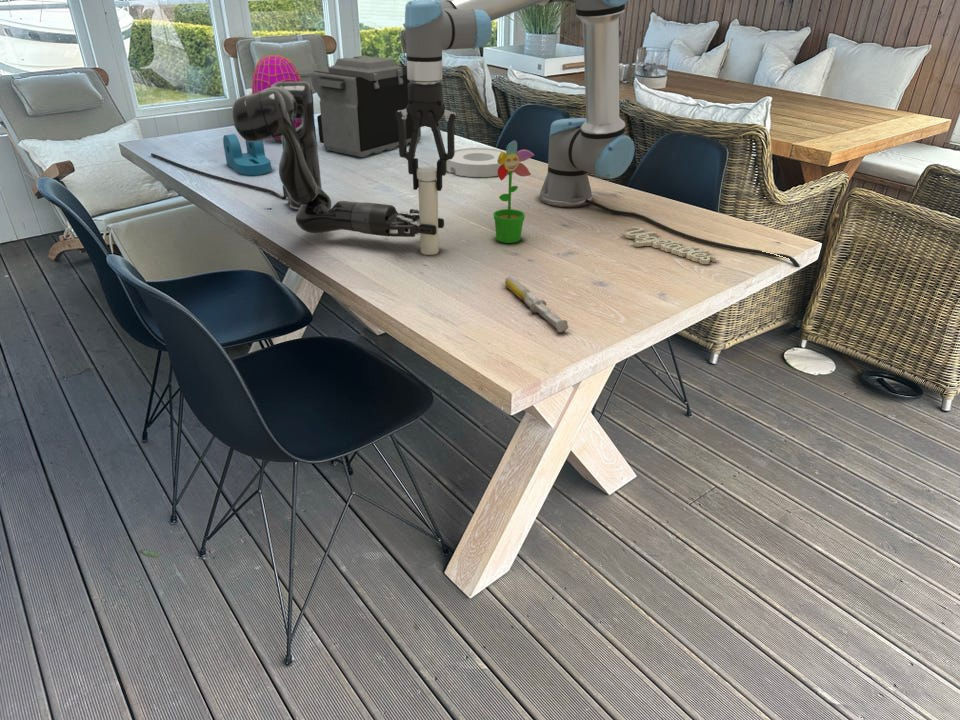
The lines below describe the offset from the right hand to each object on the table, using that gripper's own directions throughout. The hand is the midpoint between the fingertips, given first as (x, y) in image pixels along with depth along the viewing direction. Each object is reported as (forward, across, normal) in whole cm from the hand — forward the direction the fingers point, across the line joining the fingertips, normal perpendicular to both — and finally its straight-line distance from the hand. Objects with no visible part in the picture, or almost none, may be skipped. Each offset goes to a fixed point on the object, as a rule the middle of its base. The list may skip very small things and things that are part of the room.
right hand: (428, 188), depth 159 cm
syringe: (+16, -27, +28) cm, 41 cm away
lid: (-4, 0, 0) cm, 4 cm away
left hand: (+9, -3, 0) cm, 9 cm away
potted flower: (+16, -18, -11) cm, 27 cm away
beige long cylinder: (+16, 0, 0) cm, 16 cm away
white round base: (+16, -3, -77) cm, 79 cm away
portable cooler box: (+16, +41, -102) cm, 111 cm away
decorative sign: (+16, -57, -11) cm, 60 cm away
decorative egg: (+16, +76, -106) cm, 131 cm away
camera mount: (+16, +72, -65) cm, 98 cm away
